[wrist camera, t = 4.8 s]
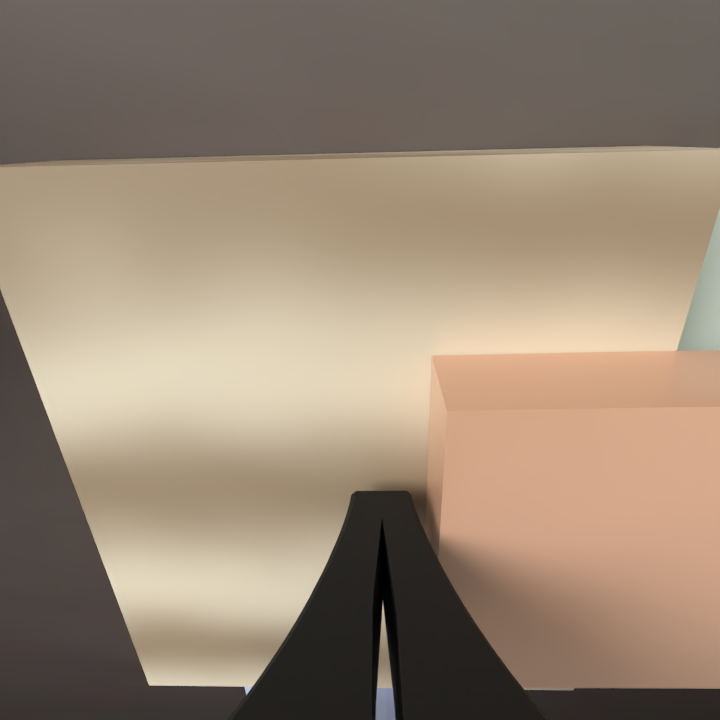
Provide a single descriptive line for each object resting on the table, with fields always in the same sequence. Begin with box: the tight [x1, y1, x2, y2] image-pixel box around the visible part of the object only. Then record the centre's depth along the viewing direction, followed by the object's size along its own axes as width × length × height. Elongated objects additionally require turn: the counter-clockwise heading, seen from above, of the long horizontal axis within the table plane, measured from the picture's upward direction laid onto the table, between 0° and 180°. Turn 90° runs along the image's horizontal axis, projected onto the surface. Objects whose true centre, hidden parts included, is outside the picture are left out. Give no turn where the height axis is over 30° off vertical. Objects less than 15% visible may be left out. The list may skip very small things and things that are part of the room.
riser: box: [0, 146, 720, 690], centre depth 13 cm, size 16×14×3 cm
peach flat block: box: [425, 350, 720, 689], centre depth 10 cm, size 8×8×2 cm
